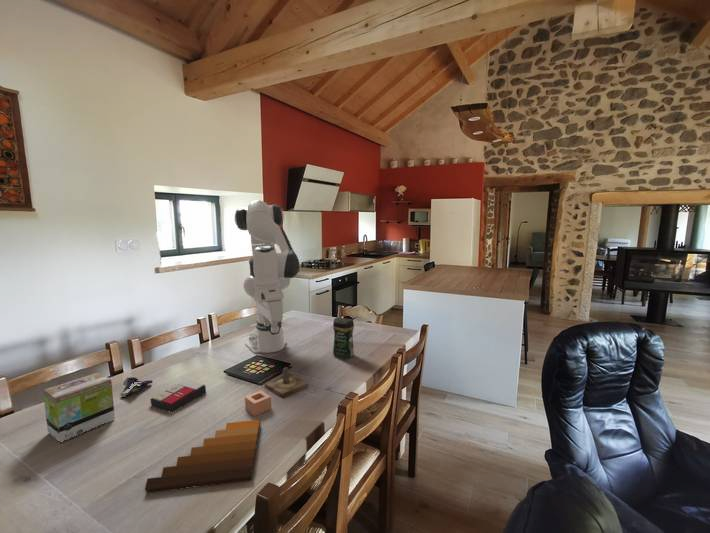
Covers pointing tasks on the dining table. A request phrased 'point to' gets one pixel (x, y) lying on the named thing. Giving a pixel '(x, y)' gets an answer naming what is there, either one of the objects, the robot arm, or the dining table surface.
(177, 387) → the black and red box
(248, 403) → the collar
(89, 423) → the tea box
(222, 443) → the pan flute
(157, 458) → the dining table surface
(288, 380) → the post stand
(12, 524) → the dining table surface
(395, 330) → the dining table surface
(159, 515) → the dining table surface
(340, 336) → the coffee jar
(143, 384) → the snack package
